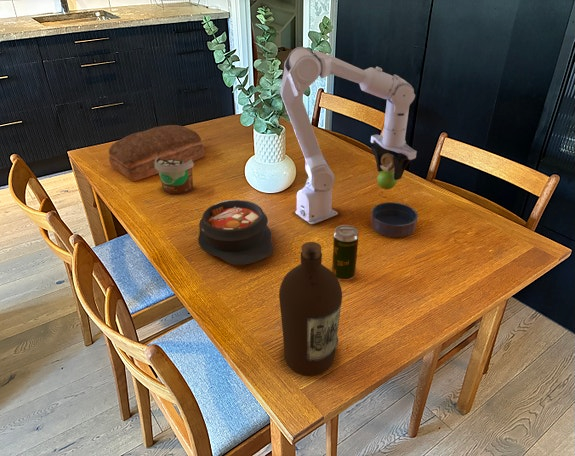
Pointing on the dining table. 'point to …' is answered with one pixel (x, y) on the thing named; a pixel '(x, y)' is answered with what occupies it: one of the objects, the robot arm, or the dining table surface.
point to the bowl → (393, 219)
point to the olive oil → (310, 313)
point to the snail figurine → (386, 172)
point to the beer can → (345, 252)
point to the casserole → (235, 232)
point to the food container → (175, 175)
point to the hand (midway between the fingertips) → (389, 174)
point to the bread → (154, 150)
